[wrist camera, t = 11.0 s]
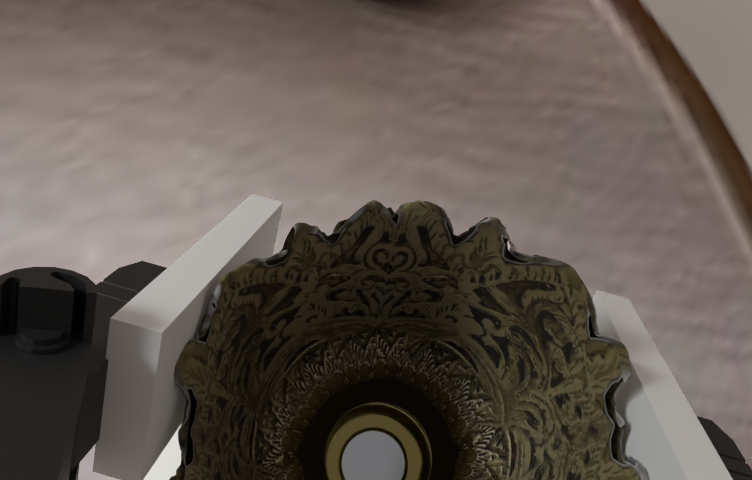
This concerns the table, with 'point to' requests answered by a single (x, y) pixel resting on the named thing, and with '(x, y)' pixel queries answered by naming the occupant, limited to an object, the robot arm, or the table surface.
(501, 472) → the cup
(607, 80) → the table surface
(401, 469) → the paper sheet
